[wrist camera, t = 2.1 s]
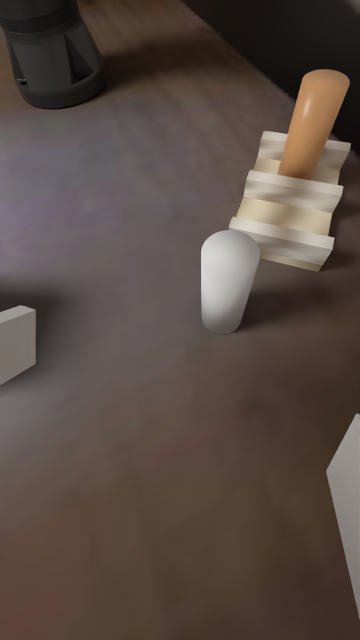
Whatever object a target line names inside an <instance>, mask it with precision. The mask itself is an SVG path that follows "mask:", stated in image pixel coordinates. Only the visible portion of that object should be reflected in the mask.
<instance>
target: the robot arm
mask: <svg viewBox="0 0 360 640" xmlns="http://www.w3.org/2000/svg"><path fill="white" fill-rule="evenodd" d="M0 25H1V28H2V30H3V32H4V35H5V38H6V43H7V48H8V52H9V57H10V61H11V66H12V70H13V75H14V79H15V82H16V85H17V87H18V89H19V91H20V93H21V95H22V97H23V99H24V100H25V101H26V102H27V103H29V104H31V105H33V106H36V107H40V108H62V107H68V106H72V105H75V104H78V103H81V102H83V101H85V100H87V99H89V98H91V97H93V96H94V95H95V94H97V93H98V92H99V91H100V90H101V89H102V88H103V87H104V85H105V84H106V81H107V71H106V67H105V63H104V60H103V57H102V55H101V53H100V51H99V49H98V47H97V45H96V43H95V42H94V40H93V38H92V36H91V34H90V32H89V30H88V28H87V26H86V24H85V22H84V21H83V19H82V17H81V14H80V11H79V8H78V4H77V1H76V0H0ZM35 364H36V310H34V309H31V308H28V307H25V306H22V305H20V306H17V307H14V308H11V309H8V310H5V311H2V312H0V385H1V384H3V383H5V382H6V381H8V380H10V379H11V378H13V377H15V376H16V375H18V374H20V373H21V372H23V371H25V370H26V369H28V368H30V367H31V366H33V365H35ZM326 473H327V477H328V481H329V486H330V490H331V494H332V499H333V503H334V508H335V512H336V516H337V521H338V525H339V530H340V534H341V538H342V543H343V547H344V552H345V556H346V560H347V565H348V569H349V574H350V578H351V582H352V587H353V591H354V596H355V600H356V604H357V609H358V613H359V618H360V414H356V415H355V417H354V419H353V421H352V423H351V425H350V427H349V429H348V431H347V432H346V434H345V436H344V438H343V440H342V442H341V444H340V446H339V448H338V449H337V451H336V453H335V455H334V457H333V459H332V461H331V463H330V465H329V466H328V468H327V470H326Z"/></svg>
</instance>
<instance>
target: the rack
mask: <svg viewBox="0 0 360 640" xmlns="http://www.w3.org/2000/svg"><path fill="white" fill-rule="evenodd" d="M287 135H288V134H282V133H275V132H268V131H264V133H263V135H262V138H261V143H260V148H259V153H258V158H257V161H256V164H255V166H254V169H253V171H252V170H250V171H249V173H248V176H247V179H246V185H245V191H244V197H243V200H242V203H241V205H240V208H239V211H238V214H237V216H236V217H232V220H231V223H230V225H229V229H228V230H235V231H240V232H243V233H245V234H247V235H249V236H250V237H252V238H253V239H254V240H255V241H256V243H257V244H258V246H259V249H260V258H261V259H265V260H269V261H274V262H278V263H282V264H287V265H291V266H295V267H299V268H304V269H308V270H312V271H316V272H319V270H320V268H321V267H322V265H323V264H324V262H325V261H326V259H327V258H328V256H329V254H330V253H331V251H332V249H333V244H334V238H333V237H328V233H329V228H330V222H331V217H332V213H333V211H334V209H335V207H336V206H337V204H338V202H339V200H340V198H341V196H342V191H343V186H339V185H337V184H338V179H339V174H340V170H341V168H342V166H343V163H344V161H345V159H346V157H347V155H348V153H349V150H350V145H351V144H350V143H345V142H338V141H331V140H327V142H326V144H325V147H324V149H323V152H322V154H321V157H320V159H319V162H318V164H317V167H316V169H315V172H314V174H313V177H312V179H311V181H310V180H304V179H299V178H293V177H287V176H281V175H277V173H278V169H279V165H280V161H281V158H282V154H283V150H284V147H285V143H286V139H287Z"/></svg>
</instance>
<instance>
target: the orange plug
mask: <svg viewBox="0 0 360 640" xmlns="http://www.w3.org/2000/svg"><path fill="white" fill-rule="evenodd" d="M348 87H349V79H348V78H347V76H346V75H344V74H343V73H340V72H337V71H334V70H326V69H325V70H324V69H322V70H315V71H312V72H309V73H307V74H306V75H305V76H304V77H303V80H302V83H301V87H300V91H299V94H298V99H297V102H296V106H295V109H294V113H293V117H292V121H291V124H290V128H289V132H288V135H287V139H286V143H285V147H284V150H283V154H282V158H281V161H280V165H279V169H278V173H277V175H281V176H287V177H293V178H299V179H304V180H310V181H311V179H312V177H313V174H314V172H315V169H316V167H317V164H318V162H319V159H320V157H321V154H322V152H323V149H324V147H325V144H326V142H327V139H328V137H329V134H330V132H331V129H332V127H333V124H334V122H335V119H336V116H337V114H338V112H339V109H340V106H341V104H342V102H343V99H344V97H345V94H346V92H347V89H348Z"/></svg>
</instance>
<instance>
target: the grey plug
mask: <svg viewBox="0 0 360 640" xmlns="http://www.w3.org/2000/svg"><path fill="white" fill-rule="evenodd" d="M259 259H260V249H259V246H258V244H257V243H256V241H255V240H254V239H253V238H252V237H250V236H249V235H247V234H245V233H243V232H240V231H235V230H225V231H220V232H217V233H215V234H213V235H212V236H210V237H209V238H208V239H207V240H206V241H205V243H204V244H203V247H202V250H201V317H202V322H203V324H204V326H205V327H206V328H207V329H208V330H209V331H211V332H212V333H215V334H219V335H225V334H229V333H232V332H233V331H235V330H236V329H237V328H238V327H239V325H240V323H241V320H242V317H243V313H244V310H245V306H246V303H247V300H248V296H249V293H250V289H251V286H252V283H253V279H254V276H255V272H256V269H257V266H258V262H259Z"/></svg>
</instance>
